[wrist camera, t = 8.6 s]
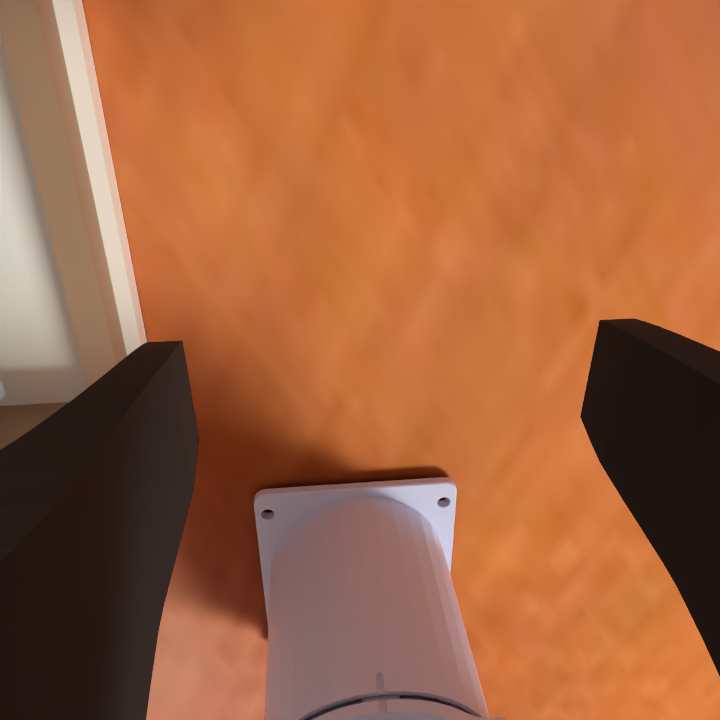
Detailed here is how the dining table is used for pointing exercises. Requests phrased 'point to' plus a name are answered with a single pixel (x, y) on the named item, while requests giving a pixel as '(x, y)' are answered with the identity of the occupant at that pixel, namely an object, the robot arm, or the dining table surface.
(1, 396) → the rectangular block
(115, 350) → the peg frame
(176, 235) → the dining table surface
